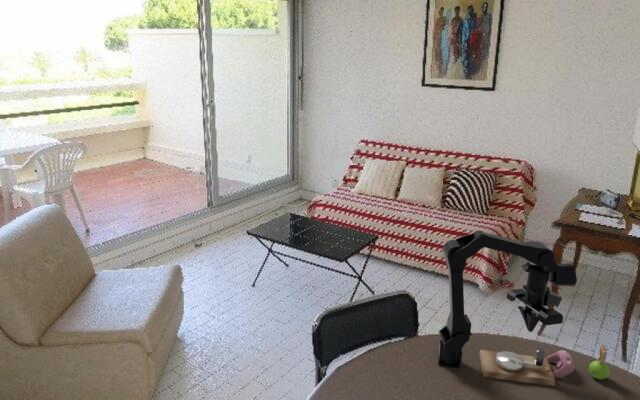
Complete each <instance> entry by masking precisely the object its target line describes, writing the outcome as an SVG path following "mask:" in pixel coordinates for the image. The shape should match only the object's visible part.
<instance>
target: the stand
mask: <svg viewBox="0 0 640 400" xmlns="http://www.w3.org/2000/svg"><path fill="white" fill-rule="evenodd" d="M499 352H500V351H494V350H493V351H492V350H487V349H486V350H485V349H480V350H479V355H478V356H479V359H480V360H479V361H480V365H481V366H480V367H481V370H482V371H481V372H482V376H483V377H484V378H490V379H498V380H506V381H512V382H519V383H520V382H522V383H529V384H536V385H544V386H552V387H555V385H556V378H555V377H554V376H553V371H552V369H551V367H550V364H549V362H547V357H544V361H543V366H542V370H536V369H530V368H525V367H524V368H523V370H522V371H519V372H510V371H506V370H504V369H502V368H500V367H499V366H498V365H497V364H496V357H497V354H498V353H499ZM517 354H518V353H517ZM518 355H520V356H521V357H522V358H523V359H524V360H526V361H532V362H534V361H535V355H525V354H520V353H519V354H518Z"/></svg>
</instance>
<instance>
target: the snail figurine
mask: <svg viewBox="0 0 640 400" xmlns="http://www.w3.org/2000/svg"><path fill="white" fill-rule="evenodd" d="M608 350H609V347H608V348H607V347H606V346H605V345H600V348H599V355H598V358H597V360H594V361H592V362H590V364H589V366H588V370H589V373H590V376H592V377H593V378H595V379H596V380H605V379H607V378H608V377H609V375H610V371H611V369H610V368H609V367H610V366H609V365H608V364H607V363H606V359H607V355H608Z"/></svg>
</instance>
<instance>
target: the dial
mask: <svg viewBox="0 0 640 400" xmlns="http://www.w3.org/2000/svg"><path fill="white" fill-rule="evenodd" d="M498 352H499V353H498V354H497V357H496V364H497V365H498V366H499V367H500V368H502V369H504V370H506V371H510V372H519V371H522V370H523V368H524V367H525V368H530V369H536V370H542V366H543V361H544V358H545V353H546V352H545V350H544V349H543V348H536V349H535V355H534V356H535V361H534V362H532V361H526V360H524V359H523V358H522V357H521V356H520V355H521V354H519V355H518V353H516V352H512V351H506V350H505V351H504V350H503V351H498Z"/></svg>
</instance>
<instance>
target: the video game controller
mask: <svg viewBox="0 0 640 400" xmlns="http://www.w3.org/2000/svg"><path fill="white" fill-rule="evenodd" d="M571 355H572V354H570V353H569V352H567V350H563V349H561V350H558V351H555V352H554V353H552V354H550V355H547V357H546V359H547V362H548V364H549V363H550V364H552V363H556V367H557V368H558V369H556V370H555V371H552V373H553V376H554V378H555V379H560V378H564V377H566V376H567V375H570V374H571V373H572V372H573V371H574V369H575V364H574V361H573V358H572V356H571Z"/></svg>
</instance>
